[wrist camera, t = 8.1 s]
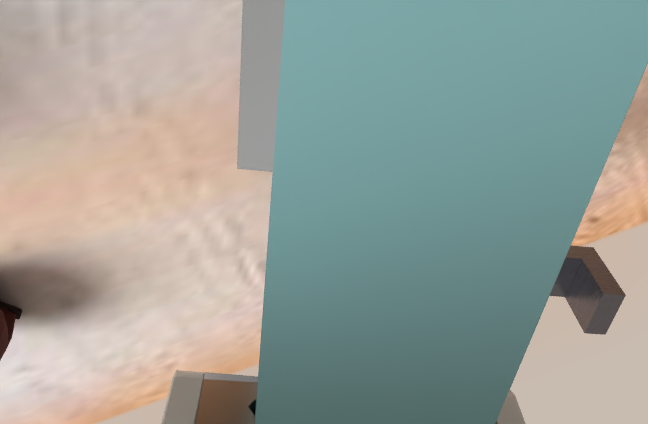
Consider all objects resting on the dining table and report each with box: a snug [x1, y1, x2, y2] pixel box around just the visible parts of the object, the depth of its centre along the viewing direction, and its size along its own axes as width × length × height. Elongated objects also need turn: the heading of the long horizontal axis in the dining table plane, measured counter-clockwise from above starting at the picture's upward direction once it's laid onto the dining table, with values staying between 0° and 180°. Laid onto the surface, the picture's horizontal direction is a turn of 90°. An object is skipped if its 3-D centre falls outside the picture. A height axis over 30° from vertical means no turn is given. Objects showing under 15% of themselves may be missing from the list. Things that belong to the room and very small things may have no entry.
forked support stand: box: [549, 246, 625, 334], centre depth 29 cm, size 22×6×16 cm, turn 174°
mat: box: [237, 0, 285, 172], centre depth 34 cm, size 22×9×1 cm, turn 174°
